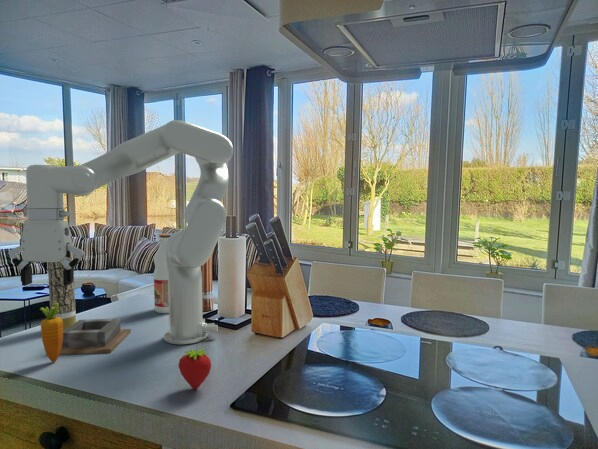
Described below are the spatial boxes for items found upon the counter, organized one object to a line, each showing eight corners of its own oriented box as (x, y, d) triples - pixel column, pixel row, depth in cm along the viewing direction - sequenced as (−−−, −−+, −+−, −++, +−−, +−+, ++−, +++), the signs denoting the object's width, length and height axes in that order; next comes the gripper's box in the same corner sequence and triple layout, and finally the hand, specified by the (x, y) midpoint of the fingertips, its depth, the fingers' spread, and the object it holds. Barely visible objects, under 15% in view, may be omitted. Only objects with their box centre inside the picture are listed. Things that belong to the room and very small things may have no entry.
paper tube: (68, 332, 122) (64, 251, 120) (46, 332, 122) (42, 251, 120) (80, 325, 129) (77, 248, 127) (59, 325, 129) (56, 248, 127)
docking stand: (130, 332, 123) (130, 316, 122) (110, 352, 107) (109, 334, 106) (76, 333, 121) (75, 317, 121) (47, 354, 105) (47, 336, 105)
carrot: (39, 367, 98) (36, 307, 97) (45, 359, 102) (42, 302, 101) (62, 365, 99) (59, 305, 98) (67, 357, 104) (64, 300, 103)
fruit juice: (175, 314, 141) (173, 235, 139) (150, 313, 142) (147, 235, 140) (185, 306, 150) (183, 232, 148) (161, 306, 151) (159, 232, 149)
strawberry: (190, 379, 91) (189, 336, 91) (217, 385, 88) (217, 341, 88) (172, 391, 86) (171, 346, 85) (200, 398, 83) (199, 351, 82)
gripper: (89, 215, 102) (90, 281, 103) (17, 214, 101) (20, 281, 102) (75, 216, 95) (77, 287, 96) (-2, 216, 93) (0, 288, 95)
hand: (47, 284), depth 99 cm, fingers open, 9 cm apart
